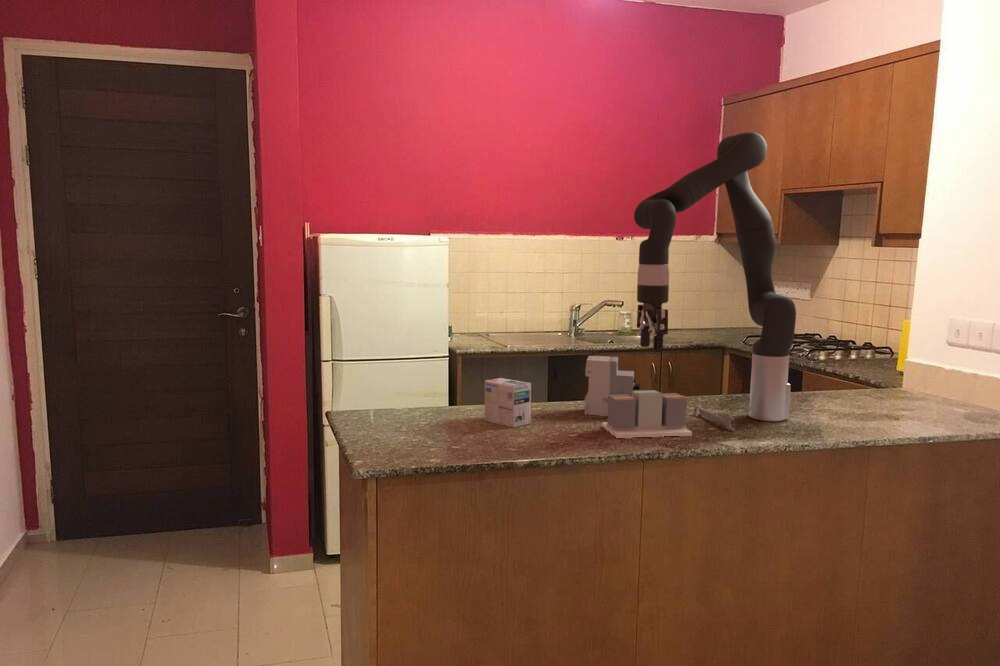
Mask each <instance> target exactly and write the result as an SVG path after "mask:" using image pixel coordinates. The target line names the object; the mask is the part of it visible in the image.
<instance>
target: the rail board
mask: <svg viewBox="0 0 1000 666" xmlns="http://www.w3.org/2000/svg"><path fill="white" fill-rule="evenodd" d="M662 394H663V398H662V423H661V427H637V426H636V425H635V409H636V399H635V398H634V397H631V396H629V395H628V394H626V395H608V417H607V419H606V420H607V422H606V421H603V422H601V427H602V428H603V427H604V428H605V429H604V428H603V429H604V430H606V431H607V432H608V431H609V432H610V433H611V435H612V436H613V435H614V436H615V437H616V438H615V437H614V436H613V437H614V438H615V439H617V438H625V439H633V438H632V437H652V438H665V437H664V436H679V437H693V431H691V430H690V429H689V428H687V425H686V418H687V417H686V415H687V397H686V396H685V395H681V394H679V393H677V392H672V393H671V392H670V393H669V392H667V393H662ZM609 432H608V433H609ZM610 433H609V434H610ZM660 436H661V437H660Z"/></svg>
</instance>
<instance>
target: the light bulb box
mask: <svg viewBox="0 0 1000 666" xmlns="http://www.w3.org/2000/svg"><path fill="white" fill-rule="evenodd" d="M531 410H532V383H531V382H526V381H521V380H514V379H508V378H504V377H499V378H494V379H486V380H484V421H485V422H489V423H493V424H497V425H500V426H504V425H505V427H510V428H518V427H521V426H522V427H523V426H526V425H530V424H531V420H532V419H531V418H532V416H531V415H532V411H531Z"/></svg>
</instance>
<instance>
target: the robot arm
mask: <svg viewBox="0 0 1000 666" xmlns="http://www.w3.org/2000/svg"><path fill="white" fill-rule="evenodd" d="M767 153H768V145H767V142H766V140H765V138H764V137H763V136H762V135H761V134H759V133H757V132H754V131H749V132H748V131H747V132H741V133H738V134H734V135H729V136H727V137H724V138H722V139H721V141H720V142H719V144H718V145H717V151H716V157H717V158H716V159H714V160H713V161H711V162H709V163H707V164H705V165H703V166H700V167H698V168H697V169H694V170H692V171H691V172H690V171H689V173H687V174H685V175H684V176H683V177H681V178H679V179H678V180H676V181H675V182H674V183H672V184H671V185H670V186H669V187H667V188H665V189H663V190H660V191H658V192H656V193H654V194H652V195H650V196H648V197H647V198H645V199H643V200H642V201H640V202H639V204H637V206H636V208H635V210H634V213H633V219H634V223H635V224H636V225H637V227H639V228H641V229H643V230H649V234H648V237H647V238H646V239H644V240H642V241H641V242H640V244H639V248H638V249H639V251H638V253H639V254H638V269H637V278H636V279H637V284H636V289H637V290H636V301H637V302H638V303H640V304H637V313H636V314H637V315H636V328H637V329H639V332H640V337H639V338H640V340H639V343H640V347H642V348H643V347H644V348H647V347H649V348H650V346H651V341H650V339H651V332H650V331H652V335H653V338H652V339H653V340H652V344H653V345H652V350H653V351H652V352H655V353H662V352H663V350H664V336H666V335H668V333H669V310H668V309H665V308H664V309H663V306H662V305H663V304H667V303H668V302H669V290H670V289H669V288H670V285H669V284H670V272H669V271H670V270H669V269H670V268H669V256H670V255H669V253H670V252H669V251H670V250H669V247H670V245H671V241H672V238H673V234H674V231H675V228H676V224H677V214H678V213H682V212H684V211H686V210H688V209H689V208H691V207H692V206H694V205H695V204H696V203H698V202H699V201H701V200H702V199H703V198H705V197H706V196H708V195H709V194H711V193H712V192H713V191H715V190H716V189H719V187H721V186H722V185H724V186H725V189H726V192H727V196H728V201H729V204H730V209H731V213H732V218H733V221H734V222H733V223H734V229H735V234H736V238H737V243H738V247H739V253H740V256H741V262H742V267H743V272H744V276H745V277H744V278H745V283H746V292H747V293H746V295H747V303H748V312H749V315H750V318H751V320H752V321H753V322H754V323H755V324H756V325H758V327H762V329H761V336H760V338H759V339H757V341H754V342H753V344H752V352H751V353H752V355H751V371H750V372H751V373H750V375H751V376H750V390H749V406H748V407H749V408H748V412H749V413H748V417H750V418H751V419H754V420H758V421H759V420H760V421H765V422H766V421H767V422H783V421H784V420H789V417H790V405H791V404H790V403H791V402H790V401H791V385H792V384H790V383H789V382H788V380H789V365H790V350H791V348H792V346H793V343H794V339H795V332H796V331H795V330H796V321H797V309H796V308H797V307H796V304H795V303H794V300H793V299H792V298H791V297H789V296H788V295H784V294H779V293H776V289H775V286H774V282H773V275H772V267H773V261H774V257H775V251H776V245H777V242H776V241H777V240H776V233H775V229H774V223H773V219H772V217H771V214H770V213H769V211H768V209H767V207H766V206H765V205H764V204H763V202H762V201H761V200H760V198H759V197H758V196H757V194H756V193H755V191H754V189H753V188H752V185H751V183H750V182H751V181H750V178H749V173H748V171H751V170H752V169H755V168H757V167H758V166H760V165H761V164H762V163H763V162H764V160H765V159H766V156H767Z"/></svg>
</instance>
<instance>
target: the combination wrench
mask: <svg viewBox="0 0 1000 666" xmlns="http://www.w3.org/2000/svg"><path fill="white" fill-rule="evenodd" d="M698 411H699V412H698ZM693 413H694V415H695V414H698V415H701V416H703V417H706V418H708V419H710V420H712V421H715V422H717V423H720V424H722V425H724V426H725V428H726V429H728V430H727V431H729V430H731V431H730V432H734V431H735V430H736V427H732V421H735V418H734V417H733V416H729V415H728V416H726V417H725V418H724V417H721V416H720V415H717V414H715V413H713V412H710V411H708V410H706V409H704V408H702V406H701V405H695V406H694V408H693ZM698 415H697V416H698Z"/></svg>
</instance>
